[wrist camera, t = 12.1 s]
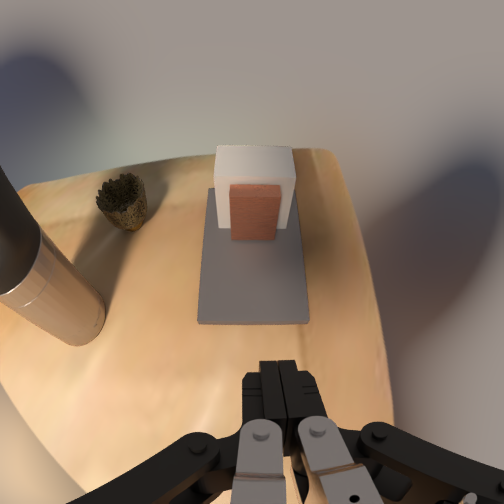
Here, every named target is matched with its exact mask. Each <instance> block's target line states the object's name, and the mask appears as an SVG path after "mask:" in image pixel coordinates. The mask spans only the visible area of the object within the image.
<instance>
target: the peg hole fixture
mask: <svg viewBox="0 0 504 504" xmlns="http://www.w3.org/2000/svg"><path fill="white" fill-rule="evenodd" d="M295 181H296V173H295V167H294V161H293V155H292V149H291V147H286V146H285V147H284V146H253V145H248V146H247V145H245V146H244V145H218V146H217V151H216V160H215V169H214V185H215V188H209V190H208V199H207V208H206V218H205V228H204V239H203V250H202V261H201V274H200V287H199V301H198V317H197V321H198V323H199V324H213V325H286V324H307V323H308V322H309V309H308V298H307V288H306V278H305V268H304V259H303V250H302V241H301V233H300V225H299V217H298V209H297V202H296V195H295V189H294V187H295ZM230 184H242V185H280V191H281V201H280V207H279V214H278V220H277V226H276V232H275V239H274V240H231V225H230V204H229V190H230Z"/></svg>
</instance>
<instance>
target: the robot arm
mask: <svg viewBox="0 0 504 504" xmlns="http://www.w3.org/2000/svg"><path fill="white" fill-rule="evenodd" d="M0 302H2V303H3V304H4V305H6V306H8V307H9V308H10V309H12V310H13V311H15V312H16V313H18V314H19V315H21V316H22V317H24V318H25V319H27V320H28V321H30V322H32V323H33V324H35V325H36V326H38V327H40V328H41V329H43V330H44V331H46V332H48V333H49V334H51V335H53V336H54V337H56V338H58V339H60V340H61V341H63V342H65V343H67V344H69V345H73V346H82V345H84V344H87V343H89V342H90V341H92V340H93V339H94V338H95V337H96V336H97V335H98V334H99V332H100V331H101V329H102V326H103V324H104V320H105V312H106V311H105V304H104V301H103V299H102V297H101V296H100V294H99V293H98V292H97V291H96V290H95V289H94V288H93V287H92V286H91V285H90V284H89V283H88V281H87V280H86V279H85V278H84V277H83V276H82V275H81V274H80V273H79V272H78V270H77V269H76V268H75V267H74V266H73V265H72V264H71V263H70V261H69V260H68V259H67V258H66V257H65V256H64V255H63V253H62V252H61V251H60V250H59V249H58V247H57V246H56V245H55V244H54V243H53V241H52V240H51V239H50V238H49V237H48V235H47V234H46V233H45V232H44V230H43V229H42V228H41V227H40V225H39V224H38V223H37V222H36V220H35V219H34V218H33V216H32V215H31V214H30V212H29V211H28V209H27V208H26V206H25V205H24V203H23V201H22V200H21V198H20V197H19V195H18V194H17V192H16V191H15V189H14V188H13V186H12V185H11V183H10V182H9V180H8V178H7V177H6V175H5V173H4V171H3V170H2V168H1V166H0ZM286 456H290V457H291V468H290V473H291V477H292V480H293V484H294V488H295V492H296V496H297V499H298V503H299V504H504V471H503V470H500V469H497V468H494V467H491V466H488V465H485V464H483V463H480V462H477V461H474V460H471V459H469V458H466V457H464V456H461V455H458V454H456V453H453V452H451V451H448V450H446V449H443V448H441V447H439V446H436V445H434V444H432V443H429V442H427V441H424V440H422V439H420V438H418V437H415V436H413V435H411V434H409V433H407V432H405V431H402V430H400V429H398V428H396V427H394V426H392V425H390V424H387V423H384V422H372V423H369V424H367V425H365V426H364V427H363V428H362V430H361V431H357V430H347V429H342V428H339V427H337V425H336V424H335V423H334V422H333V421H332V420H331V419H329V418H328V417H327V414H326V411H325V408H324V405H323V402H322V399H321V396H320V394H319V390H318V387H317V384H316V381H315V378H314V377H313V376H312V375H311V374H310V373H309V372H308V371H298V369H297V366H296V362H295V360H278V361H259V372H247V374H246V375H245V377H244V378H243V380H242V426H241V428H240V429H239V430H238V431H237V432H236V433H235V434H233V435H231V436H229V437H225V438H221V439H216V438H214V437H213V436H212V435H210V434H207V433H203V432H193V433H189V434H186V435H184V436H183V437H181V438H180V439H178V440H177V441H175V442H174V443H172V444H171V445H169V446H168V447H166V448H165V449H163V450H162V451H160V452H159V453H157V454H155V455H154V456H152V457H151V458H149V459H147V460H146V461H144V462H143V463H141V464H139V465H138V466H136V467H134V468H133V469H131V470H129V471H127V472H126V473H124V474H122V475H121V476H119V477H117V478H115V479H113V480H112V481H110V482H108V483H106V484H104V485H102V486H101V487H99V488H97V489H95V490H93V491H91V492H89V493H87V494H85V495H83V496H81V497H79V498H77V499H75V500H73V501H71V502H69V503H66V504H210V503H211V502H212V501H214V500H215V499H216V498H217V497H218V496H219V495H220V494H221V493H222V492H223V491H226V490H230V489H232V494H231V502H230V504H286V480H285V476H284V475H283V457H286ZM384 465H385V466H384ZM386 466H387V467H386ZM398 472H399V473H398ZM400 473H401V474H400Z"/></svg>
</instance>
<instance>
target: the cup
mask: <svg viewBox="0 0 504 504" xmlns="http://www.w3.org/2000/svg"><path fill="white" fill-rule="evenodd" d="M98 194H99V196H100V197H98V196H96V199H97V201H96V203H97V205H98V208H99V209H100V210H101V211H102V212H103V214H104V215H105V216H106V218H107V219H108V220H109V221H110V222H111V223H112V224H113V225H114V226H115V227H117V228H120V229H125V230H127V231H129V232H133V231H136V230H138V229H139V228H140V227H141V226H142V224H143V219H144V217H145V215H146V212H147V201H146V195H145V190H144V184H143V182H142V180H141V181H140V179H139V177H138V176H137V177H135V176H134V175H133V174H131V173H128V174H127V175H124V174H120V179H119V180H117V179H116V180H115V181H112V179H109V183H108V182H104V183H103V185H102V191H101V190H98Z"/></svg>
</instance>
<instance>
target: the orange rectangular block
mask: <svg viewBox="0 0 504 504" xmlns="http://www.w3.org/2000/svg"><path fill="white" fill-rule="evenodd" d="M280 201H281V191H280V185H242V184H230V190H229V204H230V225H231V240H274V239H275V232H276V226H277V220H278V214H279V207H280Z"/></svg>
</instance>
